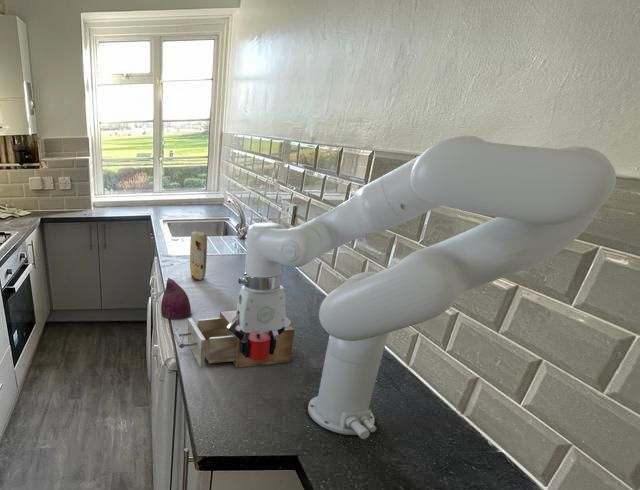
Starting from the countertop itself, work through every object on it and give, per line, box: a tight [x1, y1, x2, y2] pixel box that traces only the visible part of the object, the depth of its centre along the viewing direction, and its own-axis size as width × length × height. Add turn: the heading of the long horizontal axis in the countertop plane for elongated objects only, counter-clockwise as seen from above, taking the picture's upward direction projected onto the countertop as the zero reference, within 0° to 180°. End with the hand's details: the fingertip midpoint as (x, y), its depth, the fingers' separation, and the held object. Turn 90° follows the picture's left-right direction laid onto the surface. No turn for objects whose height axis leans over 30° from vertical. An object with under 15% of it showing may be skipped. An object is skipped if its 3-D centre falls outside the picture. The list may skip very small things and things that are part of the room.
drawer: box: [173, 317, 238, 368], centre depth 109 cm, size 18×14×8 cm
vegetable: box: [160, 277, 192, 320], centre depth 134 cm, size 10×10×15 cm
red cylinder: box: [248, 332, 270, 360], centre depth 94 cm, size 5×5×6 cm
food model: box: [189, 230, 208, 281], centre depth 166 cm, size 10×7×20 cm
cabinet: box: [219, 309, 296, 368], centre depth 110 cm, size 15×15×10 cm
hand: (257, 352), depth 95 cm, fingers closed on red cylinder, 5 cm apart
